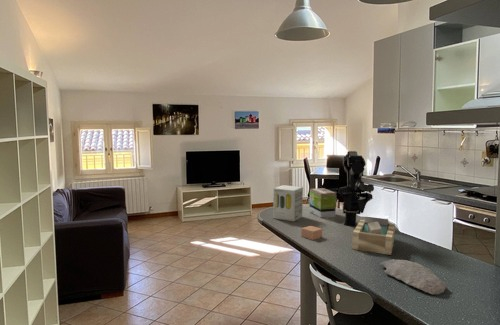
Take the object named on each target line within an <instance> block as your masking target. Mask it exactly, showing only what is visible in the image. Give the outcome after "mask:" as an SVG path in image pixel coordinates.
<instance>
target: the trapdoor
mask: <svg viewBox="0 0 500 325" xmlns="http://www.w3.org/2000/svg"><path fill="white" fill-rule="evenodd" d="M364 220H365V225H364V230H363V232H365V233H368V223H372V222H378V223H379V225H380V226H381V228H382V232H381V235H386V234H387V230H388V223H389V219H388V218H382V217H371V216H365V219H364Z"/></svg>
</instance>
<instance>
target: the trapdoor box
mask: <svg viewBox="0 0 500 325" xmlns="http://www.w3.org/2000/svg"><path fill="white" fill-rule="evenodd" d="M364 225H365V219H360V220H359V222H357V225H356V226H355V228H354V230H353V231H352V243H351V244H352V246H351V247H352V250H358V251H364V252H370V253H378V254H384V255H389V256H391V255H392V252H393V247H394V243H395V242H394V241H395V232H396V231H395V230H396V223H391V222H388V230H387V234H386V235H380V234H373V233H365V232H363V230H364Z"/></svg>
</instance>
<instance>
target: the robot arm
mask: <svg viewBox="0 0 500 325" xmlns="http://www.w3.org/2000/svg"><path fill="white" fill-rule="evenodd" d="M342 160H343V161H342V166H343V168H344V172H345V173H346V178H347V179H346V182H347V184H346V186H342V187H339V188H338V189H337V190H338V192H337V193H338V194H339V196H340V197H341V198H342V200H343V204H342V214H344V215H345V217H344V222H343V225H344V226H350V227H356V226H357V225H358V222H357V215H360V214H363V213H364V211H365V208H366V205H367V203H368V202H369V201H371V200H373V199H374V198H373V194H372V192H374V190H375V187H374V185H373V184H372V183H371V184H370V183H368V184H365V182H364V181H362V180H363V179H362V175H363V173H364V171H365V166H366V160H365V158H364V157H363V155H359V154H358V151H355V150H354V151H353V150H349V151H347V154H345V155H344V156H343V159H342Z"/></svg>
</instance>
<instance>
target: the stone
mask: <svg viewBox="0 0 500 325" xmlns="http://www.w3.org/2000/svg"><path fill="white" fill-rule="evenodd" d="M379 265H380V266H381V267H384V268H385V269H384V271H383V273H384V274H387V275H388V276H391V277H393V278H395V279H397V280H399V281H402V282H404V283H405V284H406V285H408V286H411V287H414V288H416V289H418V290H421V291H423V292H424V293H427V294H431V295H437V296H438V295H441V294H443V293H444V292H445V290H446V285H447V284H446V283H445V282H443V281H444V280H442V279H440V278H439V277H438V276H437V275H436V274H435V273H434V271H432V269H430V268H427V267H426V266H423V265H422V264H420V263H418V262H415V261H414V262H413V261H410V260H407V259H390V260H384V261H382V262H380V263H379Z"/></svg>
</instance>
